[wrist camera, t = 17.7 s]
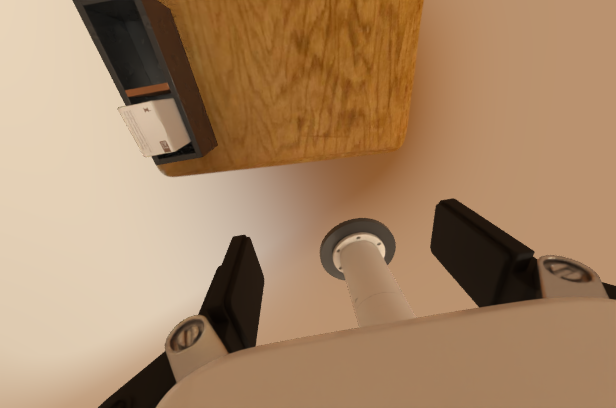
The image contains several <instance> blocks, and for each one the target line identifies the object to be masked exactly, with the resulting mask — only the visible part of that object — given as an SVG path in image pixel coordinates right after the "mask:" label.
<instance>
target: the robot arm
mask: <svg viewBox="0 0 616 408" xmlns="http://www.w3.org/2000/svg"><path fill="white" fill-rule="evenodd" d="M430 248H431V252H432V253H433V255H434V256H435V257H436V258H437V259H438V260H439V262H440V263H441V264H442V265H443V266H444V267H445V269H446V270H447V271H448V272H449V273H450V274H451V275H452V276H453V278H454V279H455V280H456V281H457V282H458V283H459V285H460V286H461V287H462V288H463V289H464V290H465V292H466V293H467V294H468V295H469V296H470V297H471V298H472V300H473V301H474V302H475V303H476V304H477V305H478V306H479V308H474V309H468V310H462V311H455V312H449V313H443V314H437V315H431V316H425V317H419V318H417V317H416V316H415V314H414V312H413V311H412V309H411V307H410V305H409V303H408V302H407V300H406V298H405V296H404V294H403V293H402V291H401V289H400V287H399V285H398V284H397V282H396V280H395V278H394V276H393V275H392V273H391V271H390V269H389V267H388V266H387V264H386V262H385V260H384V256H385V247H384V244H383V243H382V241H381V240H380V239H379V238H378V237H377V236H375V235H373V234H371V233H366V232H360V233H354V234H351V235H349V236H346V237H345V238H343V239H342V240H341V241H340V242H339V243H338V244H337V245H336V246H335V248H334V250H333V262H334V265H335V267H336V268H337V269H338V270H339V271H340V272H342V273H344V276H345V280H346V283H347V287H348V290H349V294H350V297H351V300H352V304H353V308H354V311H355V314H356V318H357V322H358V325H359V327H360V328H354V329H348V330H342V331H337V332H331V333H325V334H320V335H314V336H309V337H302V338H296V339H291V340H287V341H281V342H276V343H270V344H265V345H261V346H256V338H257V331H258V324H259V317H260V309H261V302H262V295H263V287H264V276H263V273H262V270H261V267H260V264H259V261H258V258H257V256H256V253H255V250H254V247H253V244H252V241H251V239H250V237H246V235H240V236H234V237H233V238H232V240H231V243H230V245H229V248H228V250H227V253H226V255H225V258H224V261H223V263H222V265H221V266H219V267H218V268H217V270H216V273H215V275H214V278H213V280H212V283H211V285H210V287H209V290H208V292H207V295H206V297H205V299H204V302H203V305H202V307H201V309H200V312H199V314H198V315H194V316H191V317H188V318H186V319H185V320H183V321H182V322H180V323H179V324H178V325H176V326H175V327H174V329H173V330H172V331H171V332H170V334H169V336H168V337H167V339H166V343H165V352H164V353H162V354H161V355H160V356H159V357H158V358H156V359H155V360H154V361H153V362H151V364H149V365H148V366H147V367H146V368H144V369H143V370H142V371H141V372H139V373H138V374H137V375H136V376H135V377H133V378H132V379H131V380H130V381H128V382H127V383H126V384H125V385H124V386H122V387H121V388H120V389H119V390H118V391H117V392H115V393H114V394H113V395H111V396H110V397H109V398H108V399H107V400H106V401H104V402H103V404H101V405H100V406H99V407H98V408H616V286H614V285H610V284H607V283H603V282H601V280H600V277H599V276H598V275H597V273H596V272H595V271H593V270H592V269H591V268H590V267H588V266H586V265H584V264H582V263H580V262H578V261H575V260H572V259H569V258H565V257H562V256H554V255H546V256H542V257H540V258H539V259H538V260H537V259H536V258H534V257H533V254H534V251H533V250H531V249H530V248H528V247H527V246H525V245H524V244H522V243H521V242H519V241H518V240H516V239H515V238H513V237H512V236H510V235H509V234H507V233H505V232H504V231H503V230H501V229H500V228H498V227H497V226H495V225H494V224H492V223H491V222H489V221H488V220H486V219H485V218H483V217H482V216H480V215H478V214H477V213H475V212H474V211H472V210H471V209H469V208H468V207H466V206H465V205H463V204H462V203H460V202H459V201H457V200H456V199H447V200H441V201H440V202H439V204H437V205H436V209H435V216H434V224H433V231H432V238H431V246H430ZM255 346H256V347H255Z"/></svg>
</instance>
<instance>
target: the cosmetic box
mask: <svg viewBox="0 0 616 408" xmlns="http://www.w3.org/2000/svg"><path fill="white" fill-rule="evenodd" d="M118 111H119V112H120V114H121V116H122V118H123V120H124V121H125V123H126V125H127V127H128V129H129V130H130V132H131V134H132V136H133V137H134V139H135V141H136V143H137V145H138V146H139V148H140V150H141V152H142V154H143V156H144V157H149V156H154V155H159V154H165V153H170V152H175V151H177V150H178V149H180V148H181V147H183V146H184V145H186V144H188V143H189V142H191V140H190V137H189V135H188V132H187V130H186V128H185V125H184V123H183V120H182V118H181V115H180V113H179V110H178V108H177V105H176V103H175V100H174V98H170V99H162V100H155V101H148V102H144V103H139V104H134V105H129V106H123V107H118Z"/></svg>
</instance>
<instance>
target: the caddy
mask: <svg viewBox="0 0 616 408" xmlns="http://www.w3.org/2000/svg"><path fill="white" fill-rule="evenodd" d="M73 2H74V4H75V6H76V8H77V10H78V12H79V14H80V16H81V18H82V20H83V22H84V24H85V26H86V28H87V30H88V32H89V34H90V36H91V38H92V40H93V42H94V44H95V46H96V48H97V50H98V51H99V54H100V55H101V58H102V60H103V62H104V63H105V65H106V67H107V69H108V71H109V73H110V75H111V77H112V79H113V81H114V83H115V85H116V87H117V89H118V91H119V93H120V95H121V97H122V99H123V101H124V103H125V105H126V106H129V105H134V104H139V103H144V102H148V101H155V100H162V99H170V98H174V100H175V103H176V105H177V108H178V110H179V113H180V115H181V118H182V120H183V123H184V125H185V128H186V130H187V132H188V135H189V137H190V140H191V142H189V143H188V144H186V145H184V146H183V147H181V148H180V149H178V150H177V151H175V152H170V153H165V154H159V155H154V156H152V158H153V160H154V162H155V164H156V165H161V164H166V163H172V162H177V161H183V160H189V159H194V158H200V157H203V156H205V155H206V154H207V153H208V152H210V151H211V150H212V149H214V148H215V147H216V146H218V144H217V141H216V138H215V136H214V133H213V130H212V127H211V124H210V121H209V118H208V116H207V113H206V110H205V107H204V104H203V101H202V99H201V96H200V93H199V90H198V87H197V84H196V82H195V79H194V76H193V73H192V70H191V67H190V64H189V62H188V59H187V56H186V53H185V50H184V47H183V45H182V42H181V39H180V36H179V33H178V30H177V27H176V25H175V22H174V19H173V16H172V13H171V10H170V9H169V8H167V7H166V6H165V5H163V4H162V3H160V2H159V1H157V0H73Z"/></svg>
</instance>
